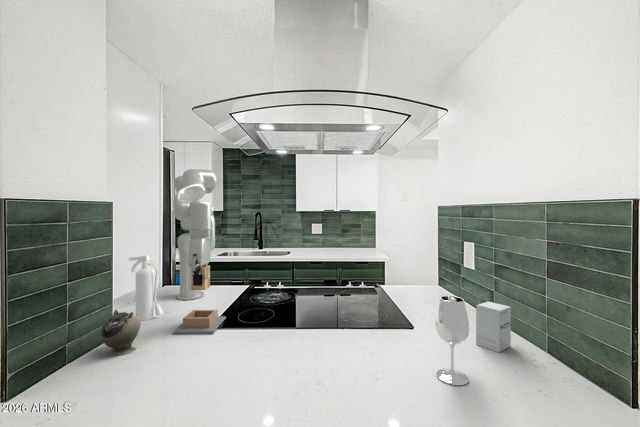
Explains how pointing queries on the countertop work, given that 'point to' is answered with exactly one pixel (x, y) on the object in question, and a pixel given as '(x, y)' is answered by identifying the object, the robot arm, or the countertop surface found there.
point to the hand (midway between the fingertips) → (200, 283)
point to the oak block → (206, 279)
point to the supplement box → (493, 326)
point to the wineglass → (452, 334)
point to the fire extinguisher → (146, 289)
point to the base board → (200, 322)
